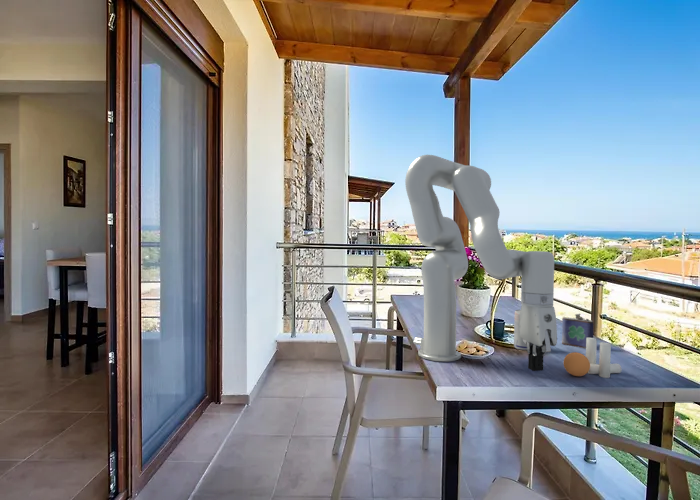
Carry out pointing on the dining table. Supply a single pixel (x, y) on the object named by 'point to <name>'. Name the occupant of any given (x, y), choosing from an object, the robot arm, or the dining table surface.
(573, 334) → the flask
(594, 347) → the pin
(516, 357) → the dining table surface
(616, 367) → the front pin
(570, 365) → the ball
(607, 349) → the pin
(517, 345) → the energy drink
